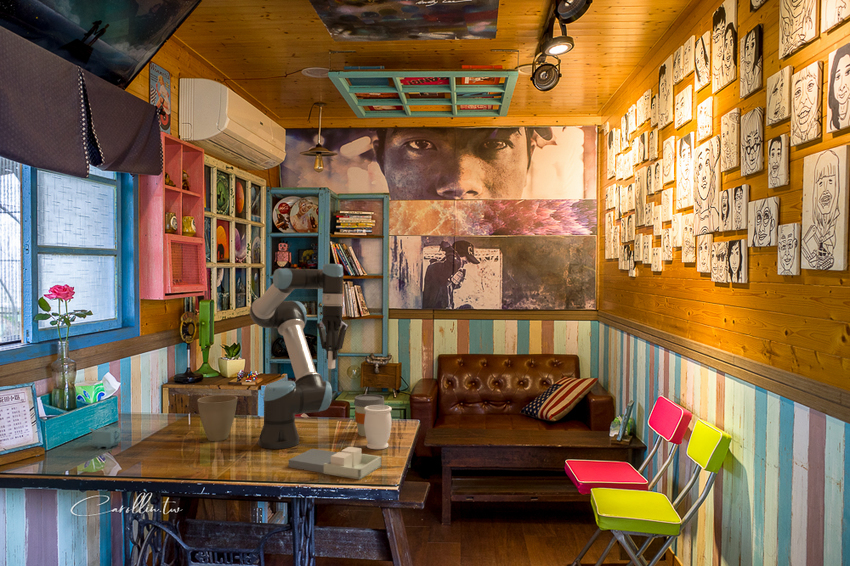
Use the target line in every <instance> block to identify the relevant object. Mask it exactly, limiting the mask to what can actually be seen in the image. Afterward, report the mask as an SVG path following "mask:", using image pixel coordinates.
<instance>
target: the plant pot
mask: <svg viewBox="0 0 850 566" xmlns="http://www.w3.org/2000/svg"><path fill="white" fill-rule="evenodd" d="M237 403H238V396H236V395H232V394H215V395H214V394H213V395H206V396H202V397H200V398H197V407H198V414H199V417H200V421H201V425H202V427H203V430H204V431H203V432H204V433H205V436H206V438H207V441H210V442H221V441H225V440H227V439H228V437H229V435H230V433H231V429H232V426H233V423H234V419H235V415H236V409H237Z"/></svg>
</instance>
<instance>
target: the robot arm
mask: <svg viewBox="0 0 850 566" xmlns="http://www.w3.org/2000/svg"><path fill="white" fill-rule="evenodd" d="M296 289H298V290H299V289H302V290H303V289H305V290H310V289H311V290H313V289H314V290H315V289H316V290H322V295H321V296H322V301H321V302H322V307H321V308H322V309H321V314H322V318H321V321H320V322H318V323H316V324H315V325H316V328H317V330H318V335H319V340H320V346H321V349H323V350H325V351H326V354H325V355H326V360H327V369H329V370H333V369H336V360H338V351H339V350H342V349H343V346H344V341H345V336H346V332H347V329H348V328H349V326H350V325H349V324H348V323H347V324H346V323H345V322H344V319H343V315H344V314H343V313H344V312H343V303H344V295H343V293H344V292H343V290H344V266H343V265H342V264H340V263H324V264H323V265H322V269H321V268H320V269H318V268H317V269H314V268H311V269H309V268H287V267H284V268H277V269H275V270H274V271H273V275H272V283H271V284H270V286H269V287H268V289H267V290H266V291H265V292H264V293H263V294H262V295H261V296H260V297H258V298H256V299H255V300H254V301H253V302H252V303H251V305H250V308H249V317H250V319H251V320H252V321H253V322H254V323H255V324H256V325H257V326H259V327H260V328H264V329H277V333H278V334H279V335H280V336H283V340H284V344H285V346H286V351H287V353H288V356H289V360H290V363H291V368H292V370H293V373H294V377H295V381H294V380H282V381H277V382H273V383H269V384H268V385H266V386H265V388H264V393H263V425H262V428H261V432H260V433H259V436H258V446H259V447H260V448H263V449H268V450H269V449H270V450H281V449H288V448H292V447H296V446H298V445H299V444H300V435H299V433H298V430H297V426H296V422H295V421H296V420H295V419H296V418H295V417H296V415H301V414H302V415H303V414H309V413H319V412H323V411H326V410H328V408H330V406H331V404H332V399H333V389H332V385H331V383H330V382H329V381H328V380H324V379H323V376H322V375H321V374H320V373H318V372H317V371H316V366H315V362H314V361H313V357H312V355H311V351H310V349H309V345H308V342H307V341H308V340H307V339H306V336H305V333H304V328H305V326H306V324H307V322H308V321H307V320H308V316H307V314H308V313H307V309H306V307H305V305H304V304H303V302H300V301H297V300H286V298H287V297H288V296H289V295H290V294H291V293H292V292H293V291H294V290H296Z"/></svg>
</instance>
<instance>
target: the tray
mask: <svg viewBox="0 0 850 566" xmlns="http://www.w3.org/2000/svg"><path fill="white" fill-rule="evenodd" d="M382 458H383V457H382V456H381V455H380V456H379V455H373V454H367V453H361V464H359V465H357V466H355V467H346V466H340V465H334V464H328V463H324V473H323V474H324V475H330V476H337V477H342V478H348V479H354V480H359V481H360V480H362V479H363V478H365V477H366V476H368V475H370V474H371V473H373V472H375V471H376V470H377V469H379V468H381V467H382Z"/></svg>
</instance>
